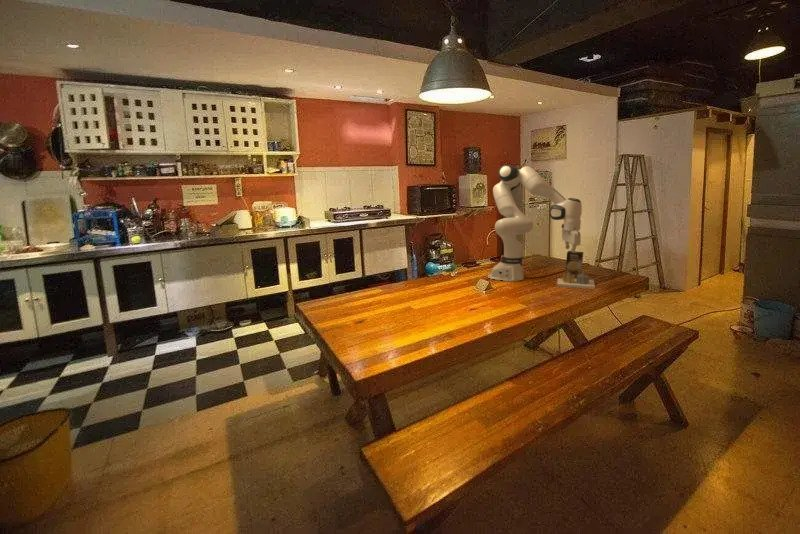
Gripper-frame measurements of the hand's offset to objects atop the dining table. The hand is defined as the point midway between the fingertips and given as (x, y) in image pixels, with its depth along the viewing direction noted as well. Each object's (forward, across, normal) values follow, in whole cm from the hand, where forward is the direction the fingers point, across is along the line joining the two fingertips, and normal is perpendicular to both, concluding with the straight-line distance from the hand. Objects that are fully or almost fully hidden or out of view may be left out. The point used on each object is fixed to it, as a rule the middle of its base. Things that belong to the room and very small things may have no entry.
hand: (570, 250), depth 231 cm
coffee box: (+21, +16, -9) cm, 28 cm away
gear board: (+21, -1, -4) cm, 21 cm away
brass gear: (+19, 0, 0) cm, 19 cm away
